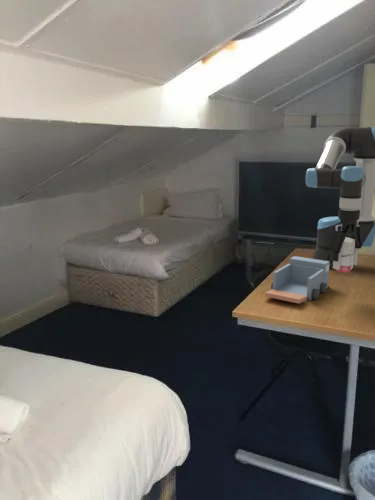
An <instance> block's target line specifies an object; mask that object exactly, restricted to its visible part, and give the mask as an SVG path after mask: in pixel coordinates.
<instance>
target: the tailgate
mask: <svg viewBox="0 0 375 500" xmlns="http://www.w3.org/2000/svg"><path fill="white" fill-rule="evenodd" d="M265 297H266V298H270V299H271V298H272V299H276V300H279V301H280V300H281V301H285V302H290V303H295V304H298V305H299V304H302V303H303V302H306V301H305V300H307V296H305V295H300V294H295V293H290V292H285V291H280V290H275V289H273V290H271V289H270V290H267V291H265V292H264V298H265Z"/></svg>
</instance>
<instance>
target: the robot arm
mask: <svg viewBox="0 0 375 500" xmlns="http://www.w3.org/2000/svg"><path fill="white" fill-rule="evenodd" d="M343 155H352V157H353V160H354V161H355V163H356V165H347V166H344V167H342V168H337V166H338V164H339V161H340V160H341V159H340V158H341V157H342V156H343ZM305 172H306V173H305V185H306V187H308V188H314V189H318V188H319V189H320V188H321V189H337V190H338V189H339V190H340V191H339V193H340V194H339V205H338V207H339V209H338V216H327V217H322V218H320V219H319V220H318V222H317V232H316V247H315V251H314V253H313V255H312V257H311V259H317V260H324V261H330V265H329V269H334V270H336V269H337V270H340V263H341V253H340V250H341V248H342V245H343V242H344V240H345V238H346V237H348V238H352V239H355V251H354V262H353V266H357V264H358V255H359V249H362V248H371V247H372V246H373V245H374V241H375V217H374V216H373V204H374V194H375V127H373V126H371V127H370V126H369V127H344V128H340V129H338V130H336V131H335V132H333V133H332V134H330V135H329V136H328V137H327V138H326V139H325V142H324V144H323V151H322V153H321V155H320V158H319V159H318V162H317V164H316V166H315V167H311V168H307V170H306V171H305Z"/></svg>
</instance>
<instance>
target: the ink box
mask: <svg viewBox="0 0 375 500" xmlns="http://www.w3.org/2000/svg"><path fill="white" fill-rule="evenodd" d="M354 251H355V239H352V238H348V237H346V238H345V240H344V242H343V245H342V248H341V250H340V253H341V263H340V270H337V269H335V270H336V272H337V273H339V272H340V273H345V274H349V273H350V272H351V270H352V269H353V268H354V265H353V262H354Z"/></svg>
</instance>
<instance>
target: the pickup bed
mask: <svg viewBox="0 0 375 500" xmlns="http://www.w3.org/2000/svg"><path fill="white" fill-rule="evenodd" d="M329 265H330V261H324V260H317V259H312V258H311V257H310V258H309V257H303V256H296V255H294V256H292V257H290V258H289V263H287V264H286V265H284V266H282V267H280V268H278V269H277V270H275V271H273V273H272V274H273V275H272V282H271V286H270V290H273V289H275V290H280V291H285V292H290V293H295V294H300V295H305V296H307V300H305V301H304V302H311V301H312V300H318V299H319V296H320V293H322V294H325V293H326V292H327V290H328V288H329V278H330V277H329V275H330V268H329Z"/></svg>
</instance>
